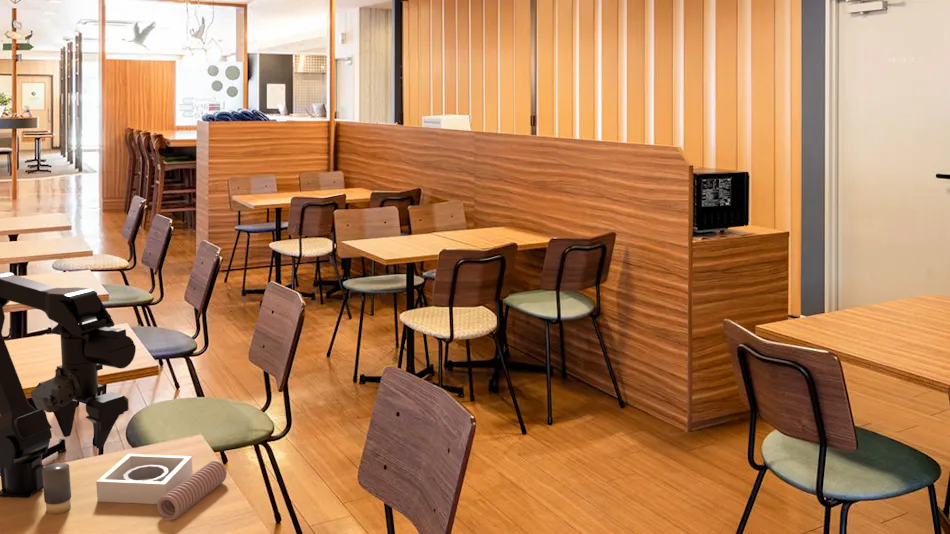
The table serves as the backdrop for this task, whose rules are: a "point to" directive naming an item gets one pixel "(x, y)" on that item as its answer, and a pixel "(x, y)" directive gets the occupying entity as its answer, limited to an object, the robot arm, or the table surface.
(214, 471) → the coil
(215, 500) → the table surface
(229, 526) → the table surface
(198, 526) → the table surface
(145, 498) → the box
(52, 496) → the plug
